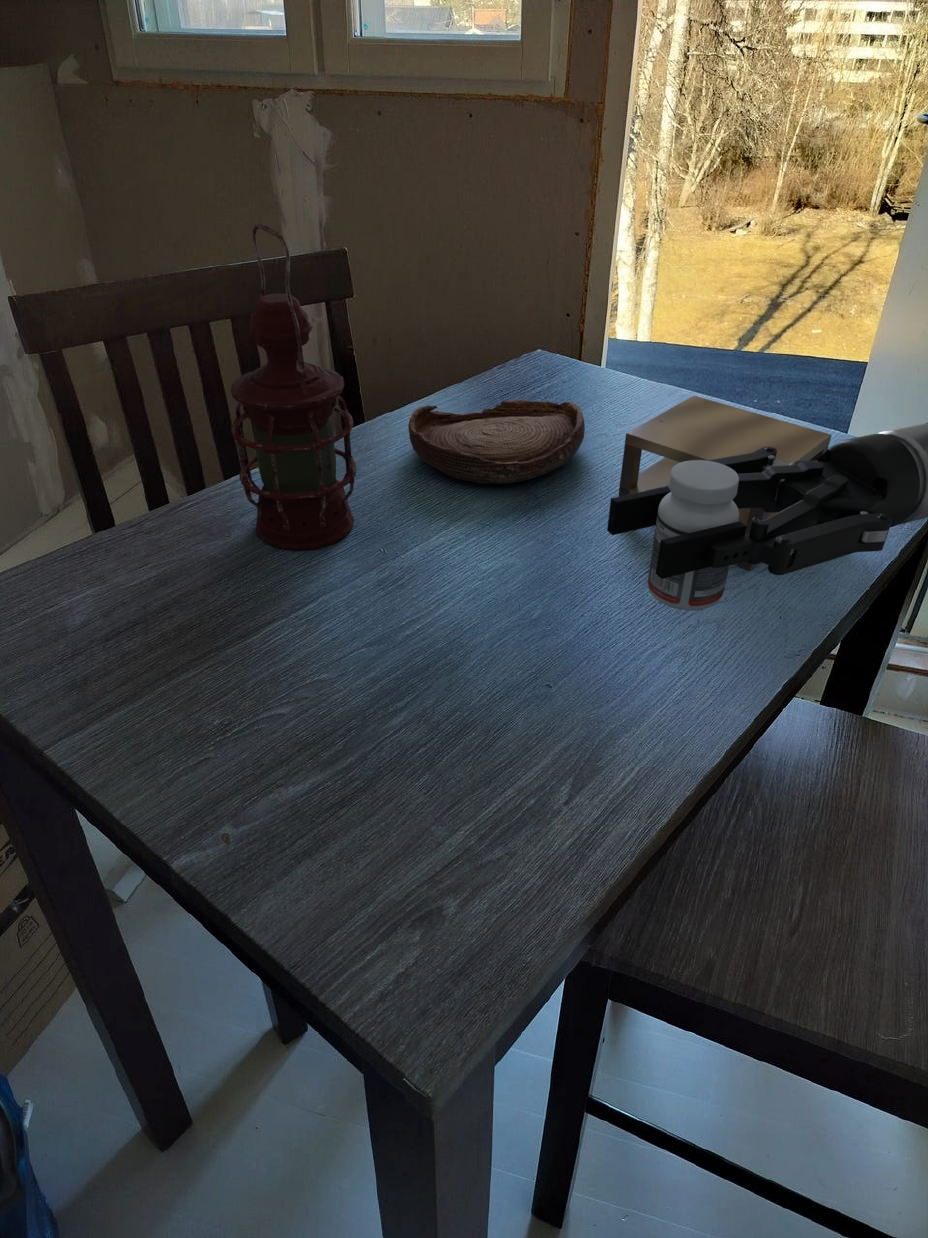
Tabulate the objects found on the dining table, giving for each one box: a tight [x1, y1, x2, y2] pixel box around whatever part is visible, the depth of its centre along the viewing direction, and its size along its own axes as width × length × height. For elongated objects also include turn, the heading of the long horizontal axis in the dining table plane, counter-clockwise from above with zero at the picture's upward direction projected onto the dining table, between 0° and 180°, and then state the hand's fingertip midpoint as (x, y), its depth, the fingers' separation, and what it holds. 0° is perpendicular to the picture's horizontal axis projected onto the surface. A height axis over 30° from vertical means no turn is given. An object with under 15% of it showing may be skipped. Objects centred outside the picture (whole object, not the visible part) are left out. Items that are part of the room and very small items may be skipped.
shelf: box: [617, 395, 833, 571], centre depth 91 cm, size 16×14×10 cm
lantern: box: [230, 223, 358, 551], centre depth 83 cm, size 12×12×30 cm
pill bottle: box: [647, 460, 739, 612], centre depth 62 cm, size 6×6×10 cm
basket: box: [408, 399, 586, 485], centre depth 105 cm, size 22×20×5 cm
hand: (636, 537), depth 60 cm, fingers closed on pill bottle, 6 cm apart
